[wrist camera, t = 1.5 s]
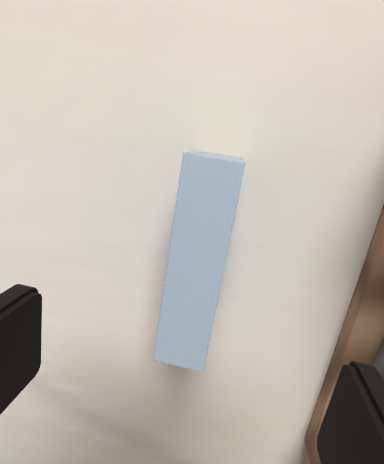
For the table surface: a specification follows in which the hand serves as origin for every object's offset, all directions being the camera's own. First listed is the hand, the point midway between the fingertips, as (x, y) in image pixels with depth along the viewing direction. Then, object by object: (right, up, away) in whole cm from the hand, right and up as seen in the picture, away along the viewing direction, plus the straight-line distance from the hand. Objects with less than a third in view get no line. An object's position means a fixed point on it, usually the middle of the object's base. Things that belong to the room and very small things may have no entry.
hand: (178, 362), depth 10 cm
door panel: (+2, +4, +15) cm, 15 cm away
